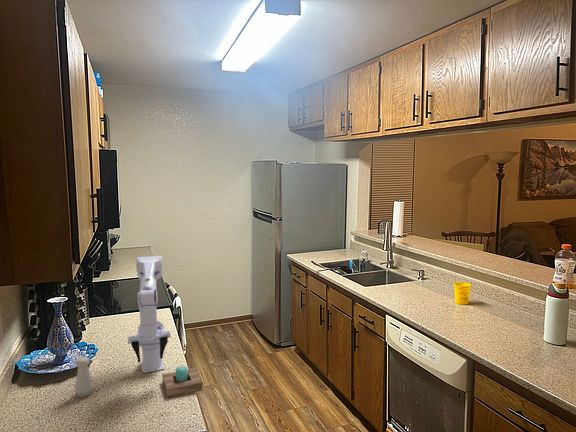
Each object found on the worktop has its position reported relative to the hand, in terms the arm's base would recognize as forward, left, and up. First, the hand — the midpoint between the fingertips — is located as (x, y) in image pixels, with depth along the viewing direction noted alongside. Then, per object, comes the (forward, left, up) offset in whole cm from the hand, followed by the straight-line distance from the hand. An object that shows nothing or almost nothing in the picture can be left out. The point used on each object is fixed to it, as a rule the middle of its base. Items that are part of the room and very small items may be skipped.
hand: (150, 359), depth 159 cm
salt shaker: (-2, -22, -10) cm, 24 cm away
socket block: (+6, +10, -9) cm, 15 cm away
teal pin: (+6, +10, -9) cm, 15 cm away
